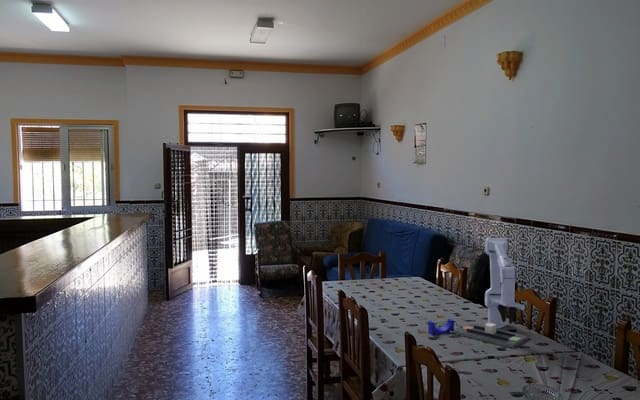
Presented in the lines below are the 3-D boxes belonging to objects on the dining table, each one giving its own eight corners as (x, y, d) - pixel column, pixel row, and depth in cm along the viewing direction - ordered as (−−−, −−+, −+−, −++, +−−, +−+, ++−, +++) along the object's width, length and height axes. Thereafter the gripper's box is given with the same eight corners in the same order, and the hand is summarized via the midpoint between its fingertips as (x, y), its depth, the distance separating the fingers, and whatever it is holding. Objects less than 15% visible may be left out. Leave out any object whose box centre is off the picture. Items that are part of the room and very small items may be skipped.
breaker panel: (471, 326, 248) (471, 321, 248) (527, 339, 229) (527, 333, 229) (454, 334, 237) (454, 328, 237) (512, 348, 217) (512, 342, 217)
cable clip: (448, 329, 244) (448, 317, 243) (453, 332, 239) (453, 320, 239) (426, 332, 240) (426, 320, 240) (431, 335, 236) (431, 322, 236)
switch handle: (489, 331, 236) (490, 323, 235) (496, 332, 233) (496, 324, 233) (485, 333, 232) (485, 325, 232) (491, 335, 230) (491, 326, 230)
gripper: (488, 291, 228) (488, 321, 229) (520, 297, 218) (519, 327, 219) (495, 289, 233) (495, 317, 234) (526, 294, 223) (526, 324, 224)
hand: (507, 322), depth 227 cm, fingers open, 3 cm apart
